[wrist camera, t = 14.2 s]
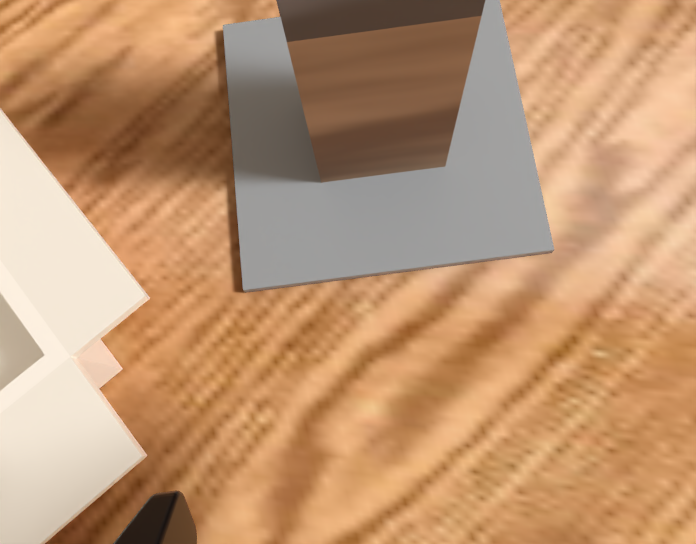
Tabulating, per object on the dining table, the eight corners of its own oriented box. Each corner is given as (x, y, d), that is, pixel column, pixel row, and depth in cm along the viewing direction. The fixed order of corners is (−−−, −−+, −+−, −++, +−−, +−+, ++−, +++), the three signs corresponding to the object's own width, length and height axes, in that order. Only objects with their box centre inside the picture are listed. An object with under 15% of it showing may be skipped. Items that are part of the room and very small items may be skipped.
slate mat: (551, 252, 23) (554, 249, 23) (245, 292, 23) (242, 290, 23) (494, -7, 26) (496, -14, 26) (225, 30, 27) (222, 24, 26)
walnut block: (445, 166, 24) (505, -82, 12) (321, 182, 24) (264, -49, 12) (430, 79, 25) (472, -227, 13) (311, 94, 25) (250, -194, 13)
